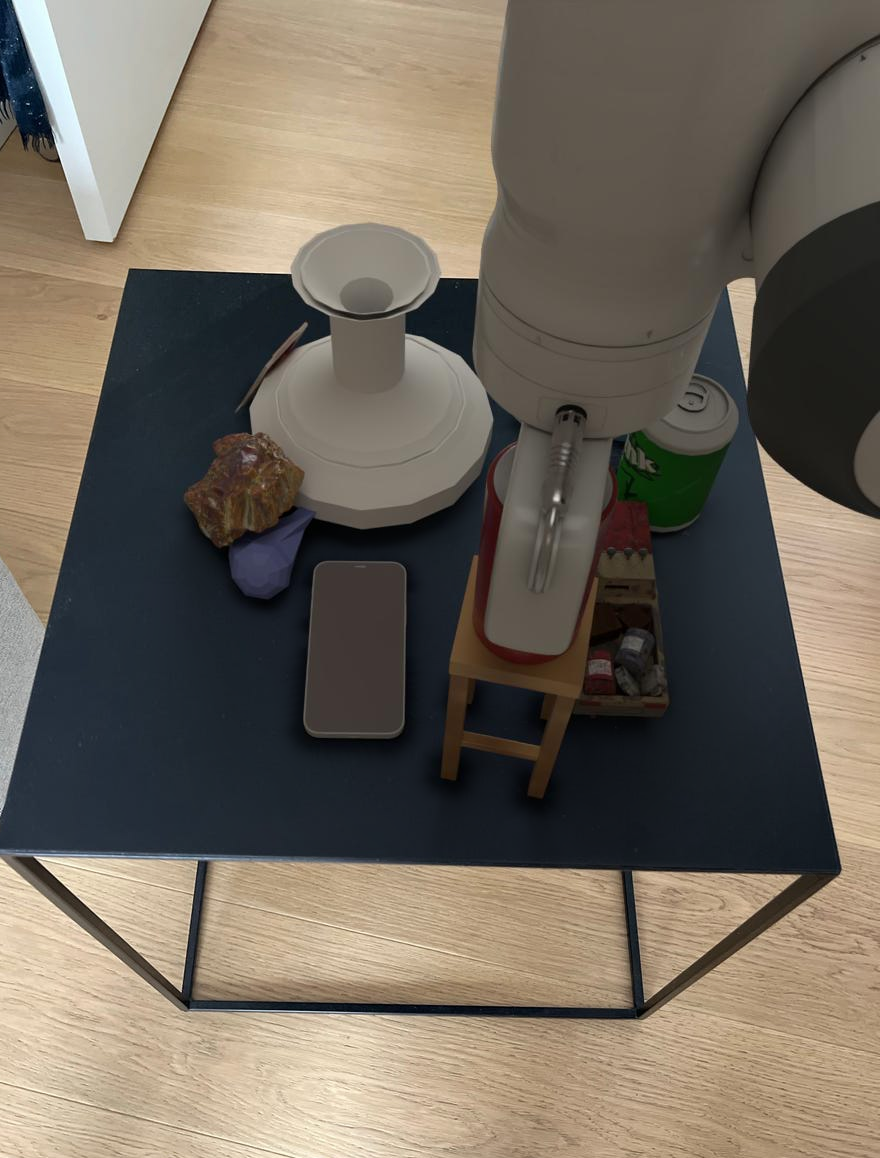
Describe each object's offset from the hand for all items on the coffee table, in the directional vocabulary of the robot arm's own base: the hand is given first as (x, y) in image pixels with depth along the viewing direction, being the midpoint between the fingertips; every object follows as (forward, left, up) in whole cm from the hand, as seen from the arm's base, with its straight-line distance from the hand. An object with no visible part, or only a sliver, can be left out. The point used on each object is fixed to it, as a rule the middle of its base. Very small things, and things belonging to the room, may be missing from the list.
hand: (542, 538), depth 50 cm
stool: (0, 0, -25) cm, 25 cm away
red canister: (0, 0, -8) cm, 8 cm away
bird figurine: (+20, -9, -20) cm, 29 cm away
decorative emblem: (+23, -32, -18) cm, 43 cm away
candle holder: (+15, -24, -25) cm, 38 cm away
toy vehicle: (-6, -11, -25) cm, 28 cm away
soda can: (-9, -24, -25) cm, 36 cm away
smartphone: (+12, -5, -25) cm, 28 cm away
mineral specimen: (+25, -16, -16) cm, 34 cm away
